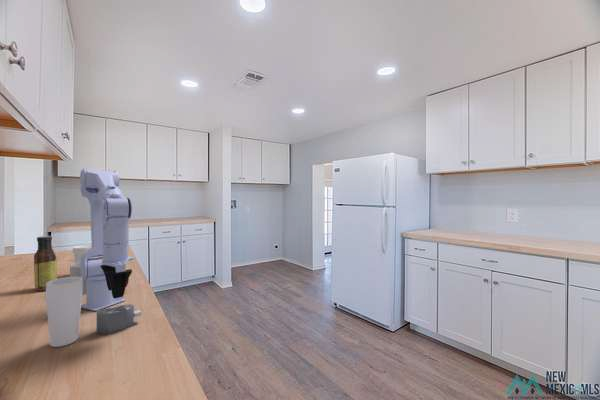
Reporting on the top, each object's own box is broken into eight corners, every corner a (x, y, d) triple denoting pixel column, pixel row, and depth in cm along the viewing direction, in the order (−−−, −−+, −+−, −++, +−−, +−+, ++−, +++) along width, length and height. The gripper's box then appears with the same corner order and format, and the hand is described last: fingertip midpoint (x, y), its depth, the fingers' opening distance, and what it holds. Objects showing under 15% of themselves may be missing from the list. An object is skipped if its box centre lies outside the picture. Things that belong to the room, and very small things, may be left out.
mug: (65, 292, 99) (65, 264, 99) (94, 284, 108) (94, 259, 108) (80, 297, 94) (80, 268, 94) (109, 289, 103) (110, 263, 103)
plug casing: (138, 318, 79) (138, 301, 79) (142, 324, 76) (142, 306, 75) (95, 330, 72) (95, 311, 72) (97, 336, 69) (97, 316, 69)
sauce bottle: (61, 286, 105) (61, 235, 105) (47, 291, 99) (47, 237, 99) (44, 286, 105) (44, 235, 105) (28, 291, 99) (28, 237, 99)
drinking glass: (44, 341, 66) (45, 280, 66) (80, 332, 70) (80, 274, 70) (45, 353, 61) (46, 287, 61) (84, 342, 66) (84, 280, 66)
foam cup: (81, 272, 124) (81, 244, 123) (103, 272, 125) (103, 244, 125) (67, 279, 114) (67, 248, 114) (92, 278, 116) (92, 247, 116)
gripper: (139, 245, 70) (139, 297, 70) (127, 238, 81) (127, 283, 81) (106, 248, 65) (105, 304, 65) (98, 240, 76) (98, 288, 76)
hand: (115, 293), depth 73 cm, fingers open, 7 cm apart
